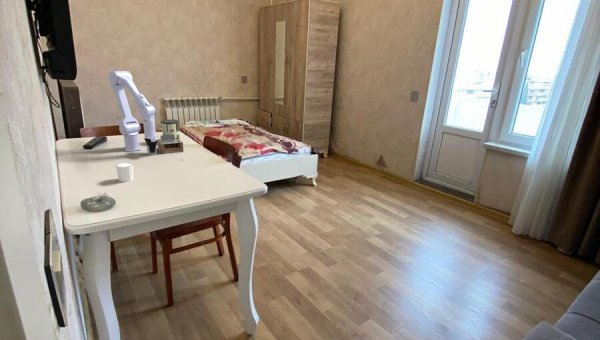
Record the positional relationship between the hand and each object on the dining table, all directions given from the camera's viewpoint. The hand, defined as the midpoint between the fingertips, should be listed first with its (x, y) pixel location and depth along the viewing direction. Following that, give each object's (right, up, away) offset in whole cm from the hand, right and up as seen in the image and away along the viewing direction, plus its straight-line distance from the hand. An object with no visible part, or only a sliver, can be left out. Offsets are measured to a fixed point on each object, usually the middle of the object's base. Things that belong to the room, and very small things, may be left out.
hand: (151, 151), depth 183 cm
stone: (0, -1, 0) cm, 1 cm away
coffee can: (+1, +7, +26) cm, 27 cm away
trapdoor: (+6, +6, +9) cm, 13 cm away
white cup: (+6, -15, -38) cm, 41 cm away
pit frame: (+7, +1, +9) cm, 12 cm away
